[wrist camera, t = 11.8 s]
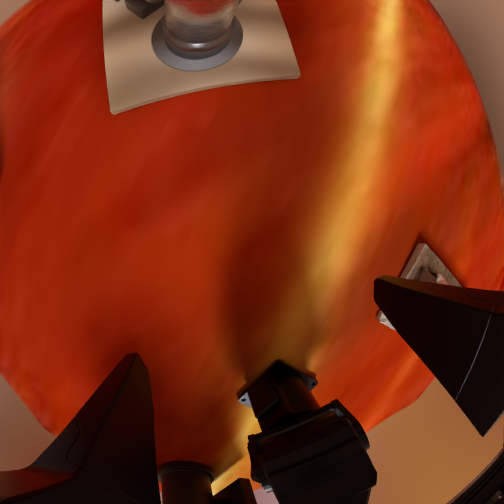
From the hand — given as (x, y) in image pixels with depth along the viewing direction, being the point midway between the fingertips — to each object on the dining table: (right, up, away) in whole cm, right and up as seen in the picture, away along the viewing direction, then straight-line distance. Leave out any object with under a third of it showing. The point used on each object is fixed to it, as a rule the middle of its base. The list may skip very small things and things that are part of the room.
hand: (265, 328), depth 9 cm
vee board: (-5, +22, +7) cm, 24 cm away
